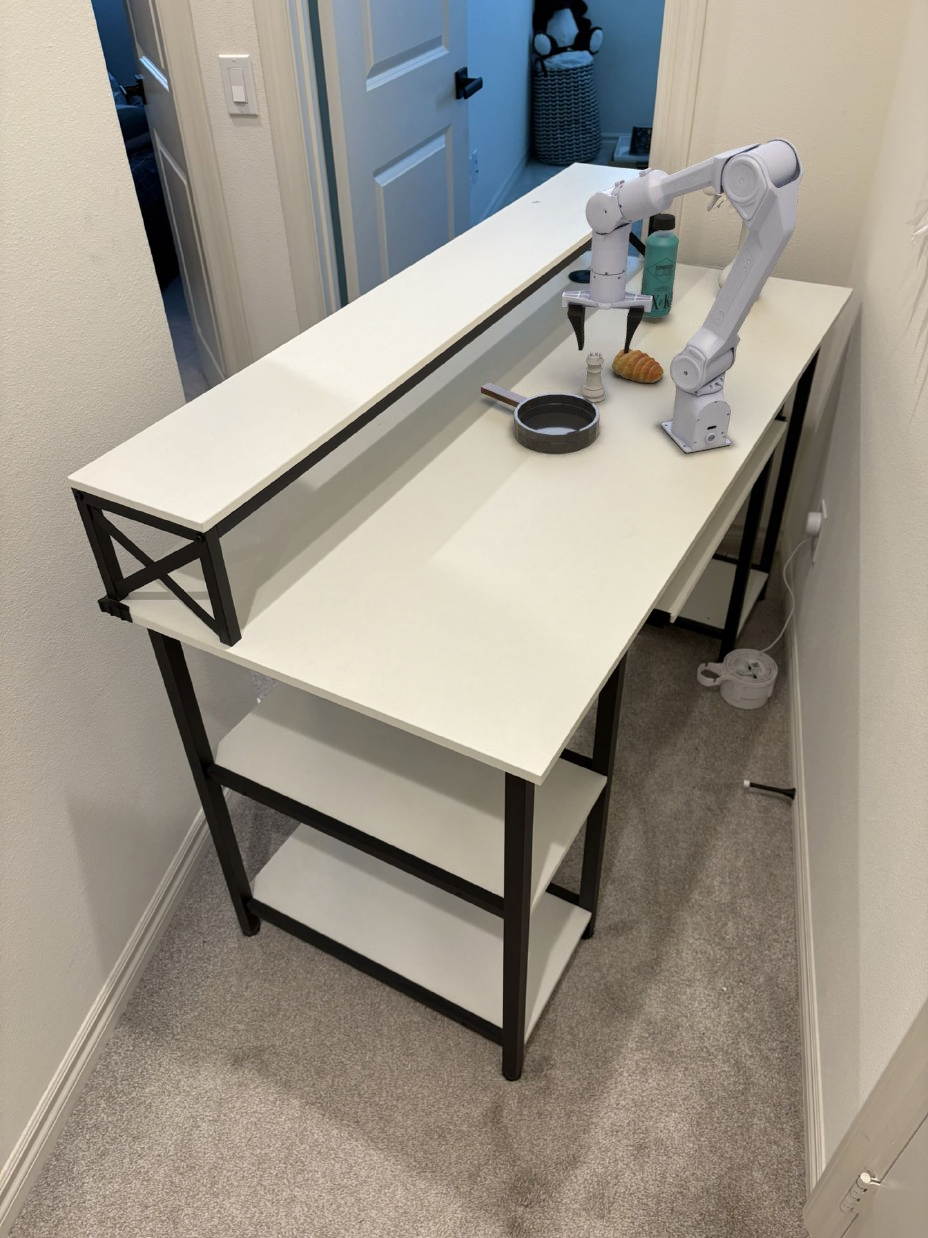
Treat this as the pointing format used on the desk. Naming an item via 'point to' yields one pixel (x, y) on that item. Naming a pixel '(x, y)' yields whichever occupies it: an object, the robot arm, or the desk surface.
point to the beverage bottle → (660, 265)
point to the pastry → (637, 366)
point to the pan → (556, 422)
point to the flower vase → (716, 202)
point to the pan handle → (503, 395)
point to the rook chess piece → (593, 379)
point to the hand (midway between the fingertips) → (603, 349)
